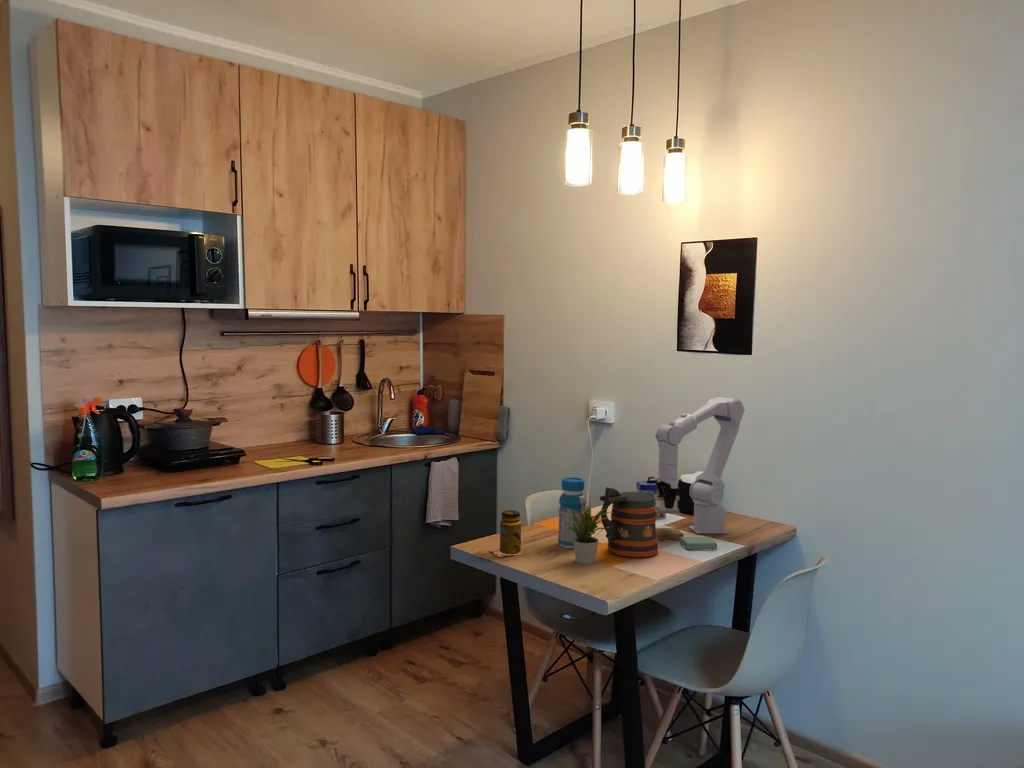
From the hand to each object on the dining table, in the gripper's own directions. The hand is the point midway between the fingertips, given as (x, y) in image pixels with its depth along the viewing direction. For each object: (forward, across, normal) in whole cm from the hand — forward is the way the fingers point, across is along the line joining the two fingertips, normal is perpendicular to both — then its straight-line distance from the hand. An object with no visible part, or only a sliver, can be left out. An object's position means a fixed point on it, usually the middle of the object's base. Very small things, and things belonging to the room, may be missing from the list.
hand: (666, 506), depth 232 cm
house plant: (+10, +24, -29) cm, 39 cm away
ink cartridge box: (+10, -25, +2) cm, 27 cm away
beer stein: (+10, +15, -16) cm, 24 cm away
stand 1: (+10, 0, 0) cm, 10 cm away
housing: (+2, 0, 0) cm, 2 cm away
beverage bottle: (+10, +7, -31) cm, 33 cm away
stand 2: (+10, +10, +7) cm, 16 cm away
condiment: (+10, +14, -51) cm, 54 cm away
